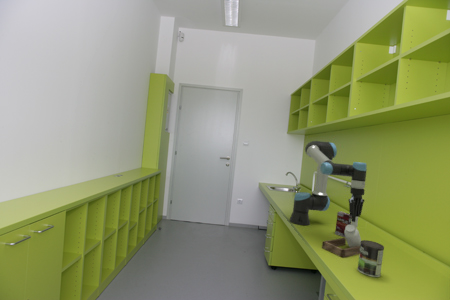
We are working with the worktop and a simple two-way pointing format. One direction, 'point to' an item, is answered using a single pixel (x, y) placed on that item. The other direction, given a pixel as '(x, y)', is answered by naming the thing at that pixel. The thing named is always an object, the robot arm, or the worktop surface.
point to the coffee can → (370, 258)
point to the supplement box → (342, 223)
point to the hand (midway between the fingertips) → (354, 227)
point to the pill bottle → (352, 236)
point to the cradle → (332, 247)
